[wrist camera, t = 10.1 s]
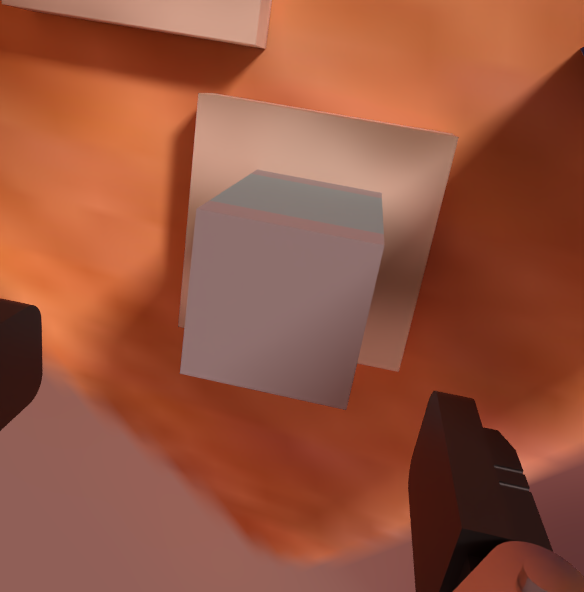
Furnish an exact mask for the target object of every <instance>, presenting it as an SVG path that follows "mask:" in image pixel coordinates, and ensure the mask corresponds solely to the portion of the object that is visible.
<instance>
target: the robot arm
mask: <svg viewBox="0 0 584 592" xmlns="http://www.w3.org/2000/svg"><path fill="white" fill-rule="evenodd" d="M41 380H42V325H41V314H40V311H39V309H38V308H37V307H36V306H34V305H29V304H25V303H20V302H15V301H10V300H6V299H0V431H1V430H2V428H4V427H5V426H6V425H7V424H8V423H9V422H10V421H11V420H12V419H13V418H15V417H16V416H17V415H18V414H19V413H20V412H21V411H22V410H23V409H24V408H25V407H26V406H28V405H29V404H30V403H31V402H32V400H33V399H34V397H35V396H36V394H37V392H38V390H39V387H40V384H41ZM408 491H409V505H410V518H411V532H412V546H413V559H414V574H415V588H416V592H584V576H583V575H582V574H581V573H580V572H579V571H578V570H577V569H576V568H575V567H574V566H573V565H571V564H570V563H569V562H568V561H566V560H565V559H563V558H562V557H560V556H559V555H557V554H556V553H554V552H553V550H552V548H551V545H550V542H549V539H548V537H547V534H546V531H545V528H544V526H543V523H542V520H541V518H540V515H539V512H538V509H537V507H536V504H535V501H534V499H533V496H532V493H531V492H529V485H528V482H527V480H526V477H525V475H523V469H522V466H521V463H520V461H519V458H518V455H517V453H516V450H515V449H514V448H513V447H512V446H511V445H510V443H509V442H508V441H507V440H506V439H505V438H504V437H503V436H502V435H501V433H500V432H499V431H497V430H493V429H488V428H483V427H482V424H481V420H480V417H479V414H478V410H477V407H476V404H475V401H474V399H472V398H467V397H462V396H457V395H453V394H448V393H443V392H438V391H433V393H432V394H431V396H430V399H429V402H428V405H427V408H426V412H425V415H424V419H423V422H422V425H421V429H420V432H419V436H418V439H417V442H416V446H415V449H414V453H413V456H412V460H411V465H410V471H409V482H408Z"/></svg>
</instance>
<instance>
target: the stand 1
mask: <svg viewBox="0 0 584 592" xmlns="http://www.w3.org/2000/svg"><path fill="white" fill-rule="evenodd" d="M271 2H272V0H2V4H4V5H8V6H13V7H17V8H21V9H25V10H30V11H35V12H41V13H47V14H53V15H59V16H66V17H72V18H78V19H84V20H90V21H96V22H103V23H109V24H115V25H121V26H127V27H134V28H140V29H146V30H152V31H158V32H164V33H171V34H177V35H183V36H189V37H195V38H201V39H208V40H214V41H220V42H226V43H232V44H238V45H245V46H251V47H257V48H263V49H266V42H267V34H268V26H269V18H270V10H271Z"/></svg>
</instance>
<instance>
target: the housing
mask: <svg viewBox="0 0 584 592" xmlns="http://www.w3.org/2000/svg"><path fill="white" fill-rule="evenodd" d="M383 249H384V228H383V209H382V193H380V192H374V191H369V190H364V189H358V188H353V187H348V186H342V185H337V184H332V183H326V182H321V181H316V180H310V179H305V178H300V177H294V176H289V175H284V174H278V173H273V172H268V171H263V170H256V171H254V172H253V173H251V174H249V175H248V176H246V177H245V178H243V179H242V180H240V181H239V182H237V183H236V184H234V185H232V186H231V187H229V188H228V189H226V190H225V191H223V192H222V193H220V194H219V195H217V196H215V197H214V198H212V199H211V200H209V201H208V202H206V203H205V204H203V205H202V206H200V207H198V208H197V209H196V218H195V228H194V238H193V248H192V258H191V268H190V278H189V288H188V298H187V308H186V318H185V328H184V338H183V348H182V358H181V368H180V374H184V375H189V376H193V377H198V378H202V379H207V380H211V381H216V382H221V383H225V384H230V385H234V386H239V387H243V388H248V389H253V390H257V391H262V392H266V393H271V394H275V395H280V396H285V397H289V398H294V399H298V400H303V401H307V402H312V403H316V404H321V405H326V406H330V407H335V408H339V409H344V410H346V409H347V405H348V400H349V396H350V392H351V387H352V383H353V379H354V374H355V370H356V366H357V362H358V357H359V353H360V349H361V344H362V340H363V336H364V331H365V327H366V323H367V318H368V314H369V310H370V305H371V301H372V297H373V293H374V288H375V284H376V280H377V275H378V271H379V267H380V262H381V258H382V254H383Z"/></svg>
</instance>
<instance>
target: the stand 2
mask: <svg viewBox="0 0 584 592" xmlns="http://www.w3.org/2000/svg"><path fill="white" fill-rule="evenodd" d="M457 141H458V137H457V136H455V135H453V134H451V133H445V132H440V131H434V130H428V129H422V128H416V127H410V126H404V125H398V124H392V123H387V122H381V121H375V120H369V119H363V118H357V117H351V116H345V115H339V114H333V113H328V112H322V111H316V110H310V109H304V108H298V107H292V106H286V105H280V104H274V103H269V102H263V101H257V100H251V99H245V98H239V97H233V96H227V95H221V94H216V93H198V103H197V115H196V127H195V138H194V150H193V161H192V173H191V184H190V196H189V207H188V219H187V230H186V242H185V253H184V265H183V277H182V288H181V300H180V311H179V323H178V327H182V328H185V318H186V308H187V298H188V288H189V278H190V268H191V258H192V248H193V238H194V228H195V218H196V209H197V208H198V207H200V206H202V205H203V204H205V203H206V202H208V201H209V200H211V199H212V198H214V197H215V196H217V195H219V194H220V193H222V192H223V191H225V190H226V189H228V188H229V187H231V186H232V185H234V184H236V183H237V182H239V181H240V180H242V179H243V178H245V177H246V176H248V175H249V174H251V173H253V172H254V171H256V170H263V171H268V172H273V173H278V174H284V175H289V176H294V177H300V178H305V179H310V180H316V181H321V182H326V183H332V184H337V185H342V186H348V187H353V188H358V189H364V190H369V191H374V192H380V193H382V209H383V228H384V249H383V254H382V258H381V262H380V267H379V271H378V275H377V280H376V284H375V288H374V293H373V297H372V301H371V305H370V310H369V314H368V318H367V323H366V327H365V331H364V336H363V340H362V344H361V349H360V353H359V357H358V362H357V363H358V364H363V365H367V366H372V367H377V368H382V369H387V370H392V371H397V372H399V369H400V365H401V361H402V357H403V353H404V349H405V345H406V341H407V337H408V333H409V330H410V326H411V322H412V318H413V314H414V310H415V306H416V302H417V298H418V294H419V290H420V286H421V282H422V279H423V275H424V271H425V267H426V263H427V259H428V255H429V251H430V247H431V243H432V239H433V235H434V232H435V228H436V224H437V220H438V216H439V212H440V208H441V204H442V200H443V196H444V192H445V188H446V184H447V181H448V177H449V173H450V169H451V165H452V161H453V157H454V153H455V149H456V145H457Z"/></svg>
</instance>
